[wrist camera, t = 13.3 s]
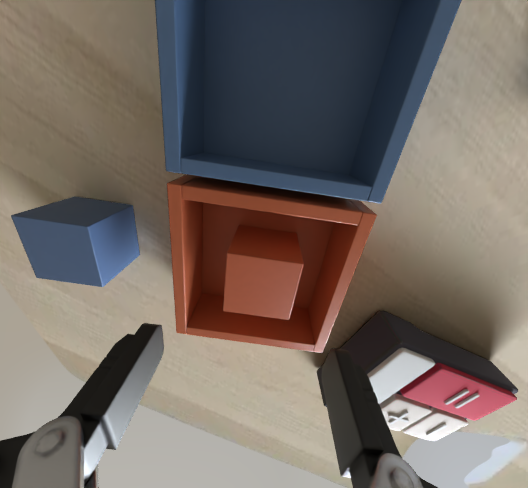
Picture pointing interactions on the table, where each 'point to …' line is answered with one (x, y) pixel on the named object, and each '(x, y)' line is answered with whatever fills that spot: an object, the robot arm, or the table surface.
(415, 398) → the calculator
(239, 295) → the terracotta block
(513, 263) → the table surface
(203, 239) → the terracotta bin
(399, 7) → the blue bin
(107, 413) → the robot arm
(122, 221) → the blue block
